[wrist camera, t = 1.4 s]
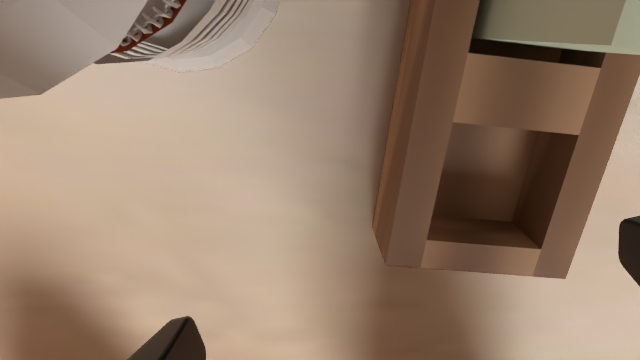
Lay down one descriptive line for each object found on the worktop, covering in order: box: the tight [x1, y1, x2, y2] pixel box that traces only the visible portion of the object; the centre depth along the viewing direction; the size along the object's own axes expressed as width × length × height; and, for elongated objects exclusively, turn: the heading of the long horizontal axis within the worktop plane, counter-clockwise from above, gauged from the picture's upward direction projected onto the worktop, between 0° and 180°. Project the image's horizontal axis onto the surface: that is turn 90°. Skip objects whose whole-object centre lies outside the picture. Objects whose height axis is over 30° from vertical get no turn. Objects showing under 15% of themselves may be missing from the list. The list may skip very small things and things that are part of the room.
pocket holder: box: [372, 0, 640, 279], centre depth 19 cm, size 9×17×4 cm, turn 174°
